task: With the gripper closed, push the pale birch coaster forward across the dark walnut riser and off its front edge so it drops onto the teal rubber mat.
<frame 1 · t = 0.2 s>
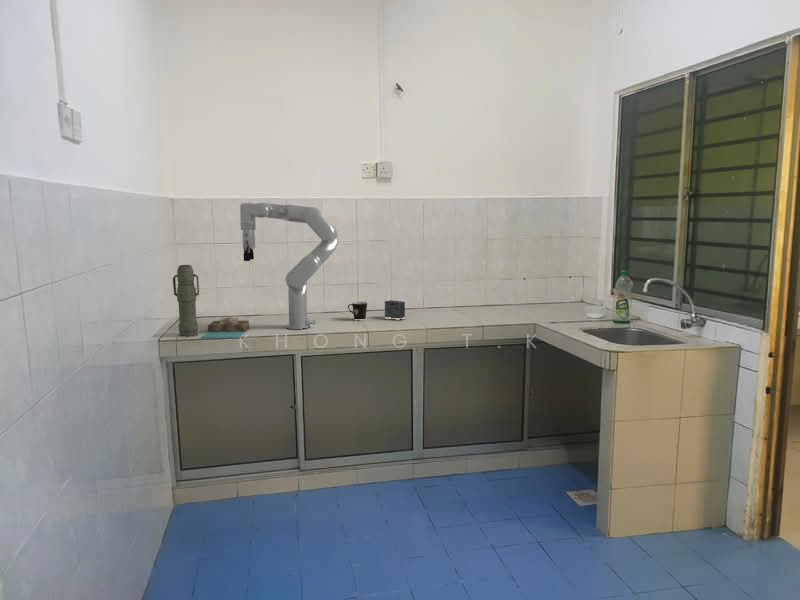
hand: (248, 260, 295), 36 cm above the countertop, tool pointing down, fingers open, 9 cm apart
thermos: (188, 335, 283), on the countertop
riser: (229, 330, 294), on the countertop
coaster: (229, 322, 295), point 4 cm above the countertop, touching riser
mat: (223, 335, 282), on the countertop
coffee mug: (358, 319, 325), on the countertop
small box: (394, 319, 327), on the countertop
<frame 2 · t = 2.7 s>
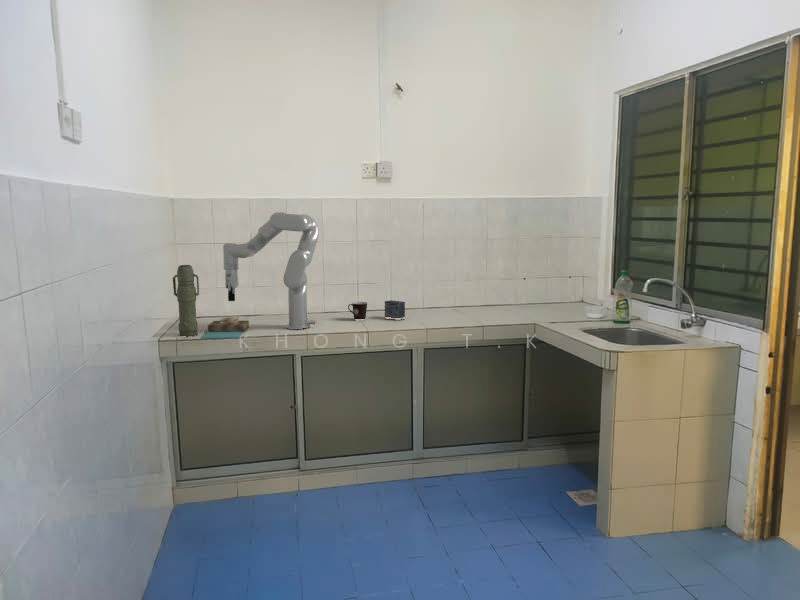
hand: (231, 300, 303), 14 cm above the countertop, tool pointing down, fingers closed
nothing on the countertop moved.
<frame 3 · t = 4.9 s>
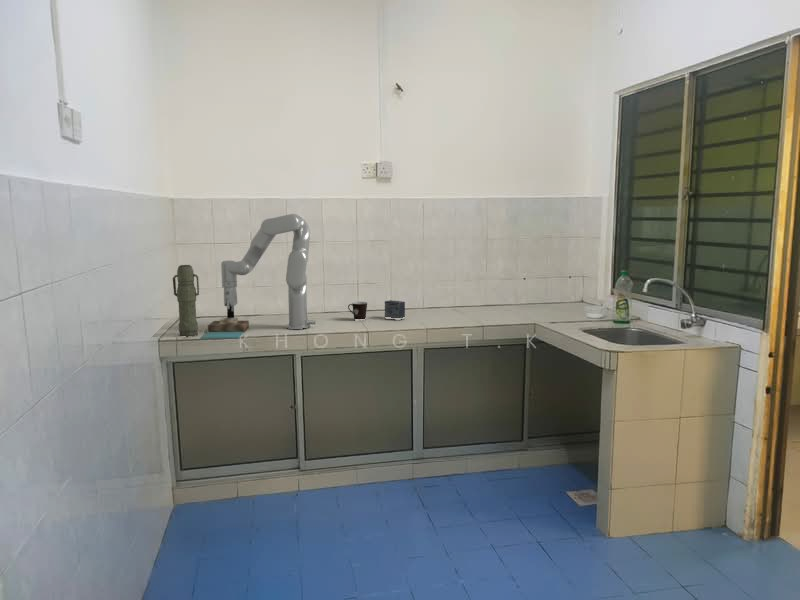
hand: (230, 318, 299), 5 cm above the countertop, tool pointing down, fingers closed
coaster: (228, 322, 294), point 4 cm above the countertop, touching gripper, riser
everything else where it was.
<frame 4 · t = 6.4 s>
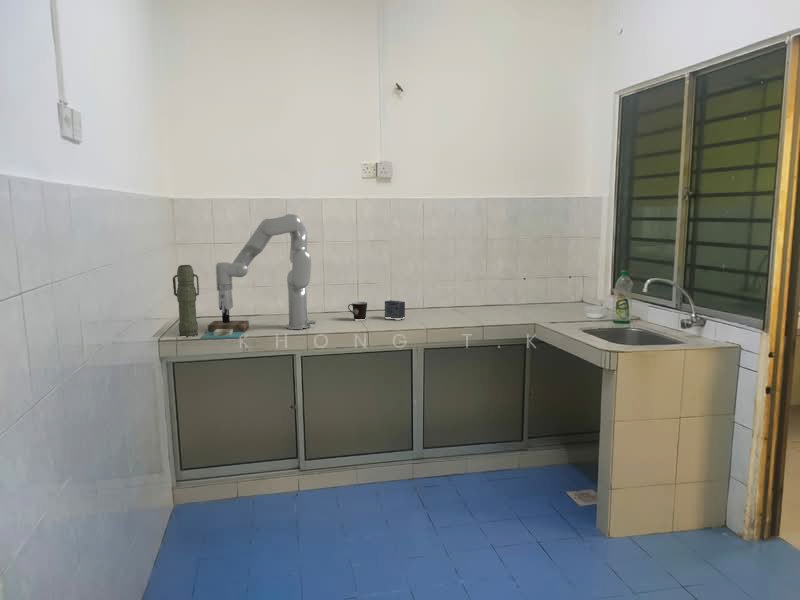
hand: (226, 322, 288), 5 cm above the countertop, tool pointing down, fingers closed
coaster: (223, 330, 282), point 3 cm above the countertop, tilted 180°, touching mat
everything else where it was.
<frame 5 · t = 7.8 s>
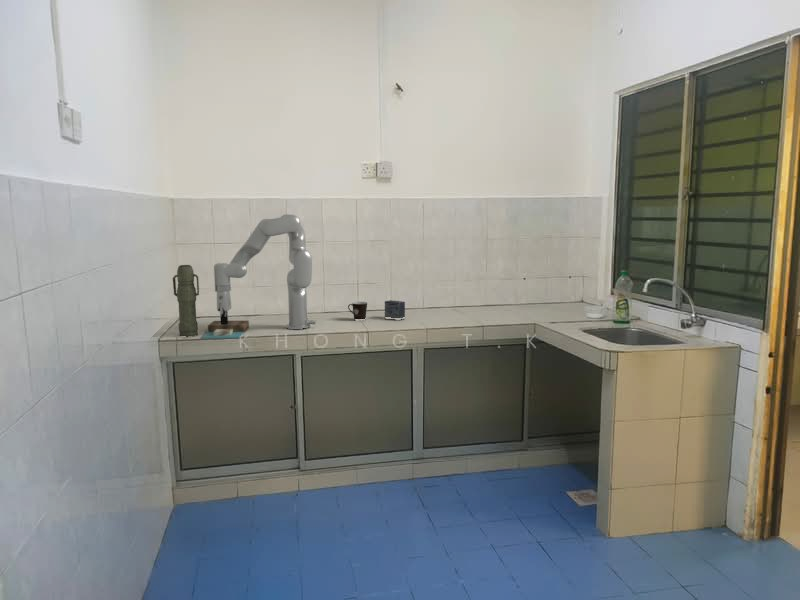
hand: (224, 324, 284), 5 cm above the countertop, tool pointing down, fingers closed
nothing on the countertop moved.
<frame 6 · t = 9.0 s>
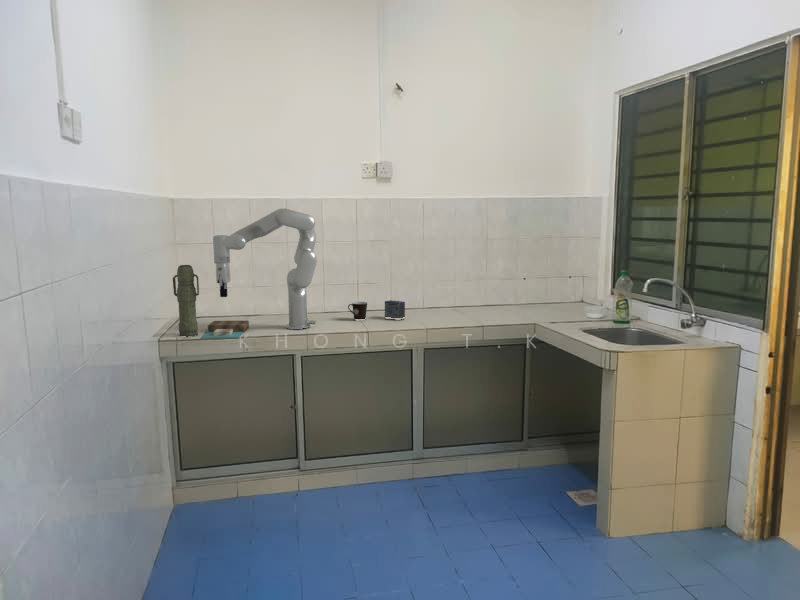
hand: (223, 296, 283), 19 cm above the countertop, tool pointing down, fingers closed
nothing on the countertop moved.
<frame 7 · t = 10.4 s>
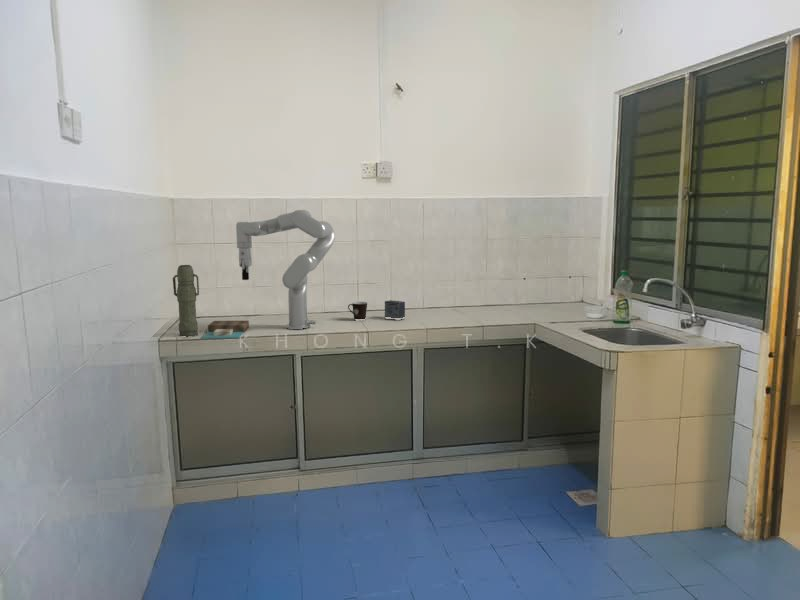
hand: (245, 279, 302), 25 cm above the countertop, tool pointing down, fingers closed
nothing on the countertop moved.
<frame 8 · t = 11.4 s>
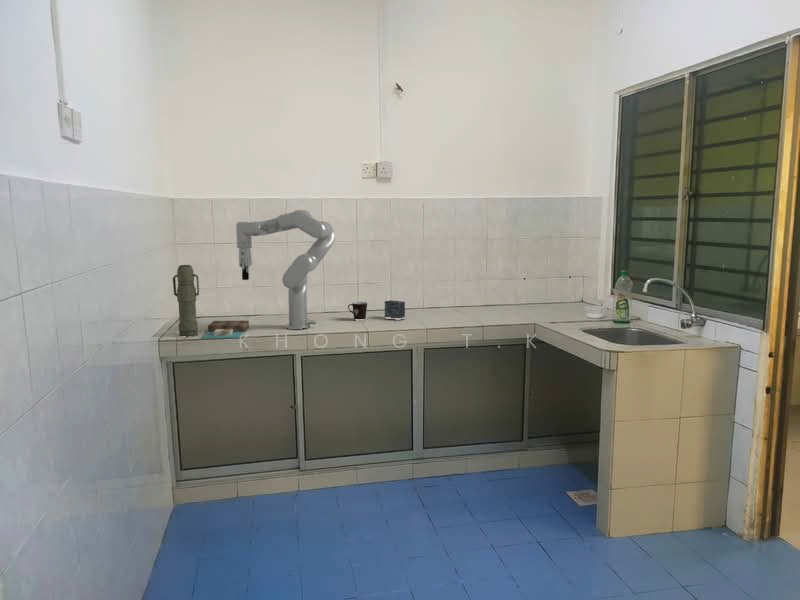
hand: (245, 279, 302), 25 cm above the countertop, tool pointing down, fingers closed
nothing on the countertop moved.
at the end: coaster inside the target area (0.5 cm from its centre), point 2.6 cm above the countertop; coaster touching mat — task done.
